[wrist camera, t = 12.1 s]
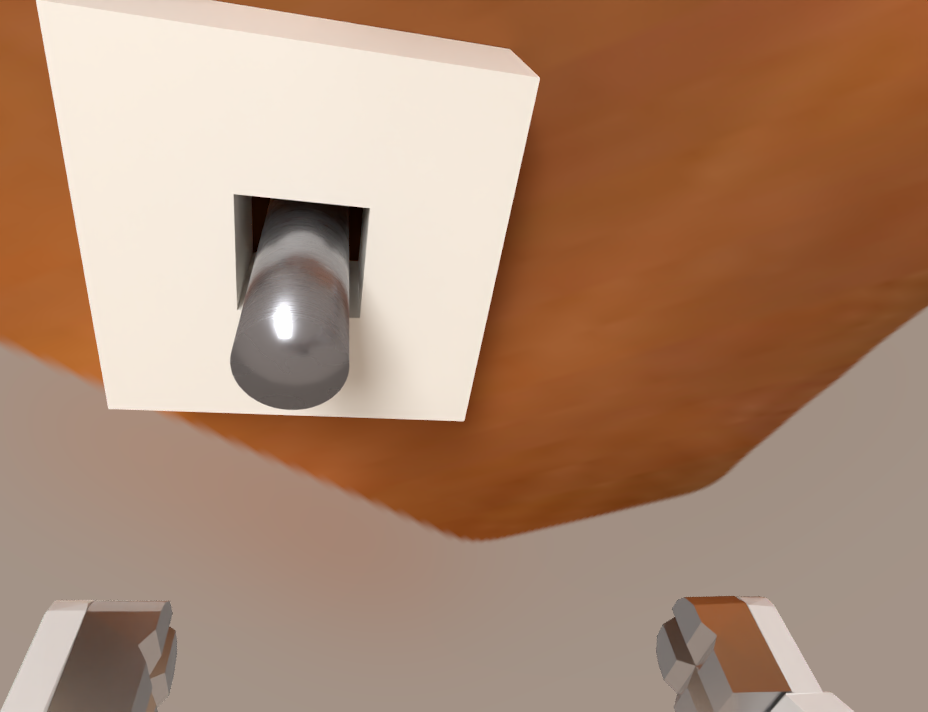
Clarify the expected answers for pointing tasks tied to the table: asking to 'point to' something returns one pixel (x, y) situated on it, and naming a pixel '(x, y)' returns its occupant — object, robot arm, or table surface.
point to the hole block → (282, 190)
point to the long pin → (296, 308)
